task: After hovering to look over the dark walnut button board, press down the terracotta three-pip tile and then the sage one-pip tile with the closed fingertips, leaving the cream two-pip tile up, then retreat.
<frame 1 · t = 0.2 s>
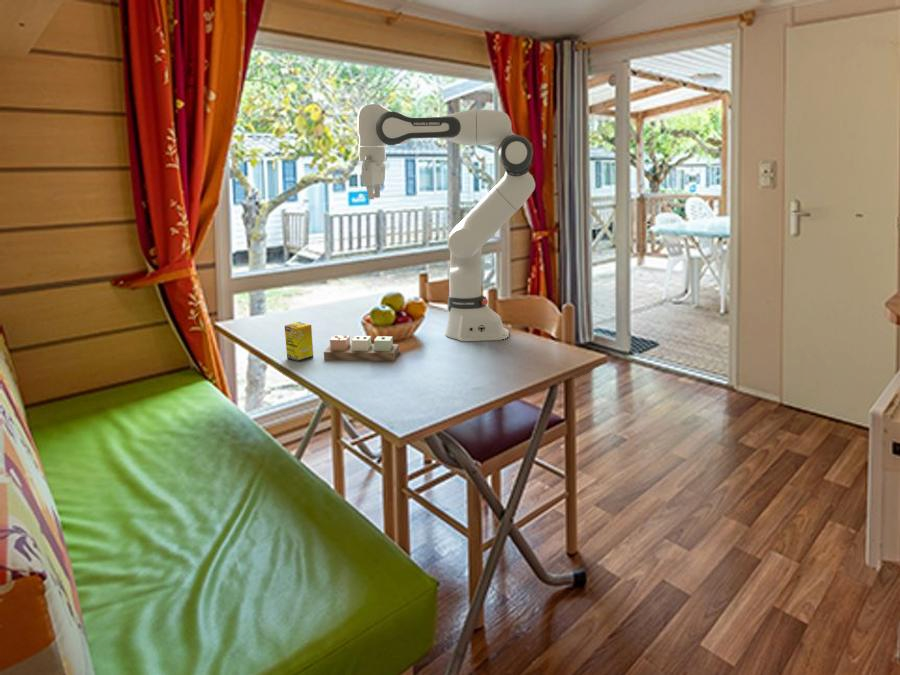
hand: (374, 198, 212), 48 cm above the table, fingers open, 8 cm apart
button board: (362, 355, 200), on the table
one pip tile: (383, 344, 198), point 4 cm above the table, slide at 0.0 cm
two pip tile: (361, 343, 199), point 4 cm above the table, slide at 0.0 cm
supplement box: (300, 359, 198), on the table
three pip tile: (340, 343, 199), point 4 cm above the table, slide at 0.0 cm
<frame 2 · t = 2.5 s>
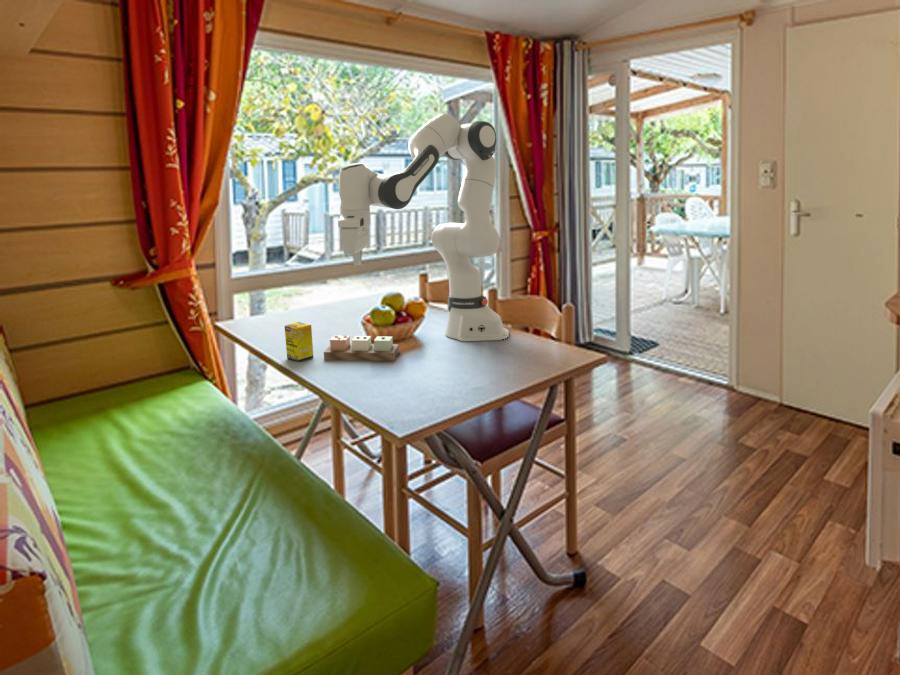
hand: (357, 264, 192), 29 cm above the table, fingers closed
nothing on the table moved.
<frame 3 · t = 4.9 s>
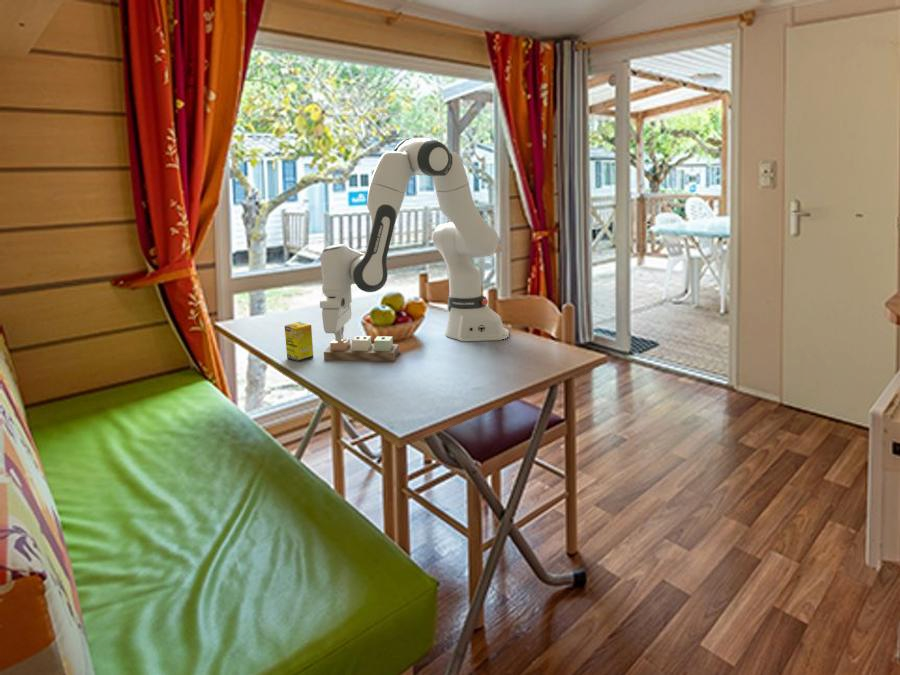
hand: (339, 339, 199), 5 cm above the table, fingers closed, pressing on three pip tile
three pip tile: (340, 346, 199), point 3 cm above the table, slide at -1.0 cm, touching gripper
everything else where it was.
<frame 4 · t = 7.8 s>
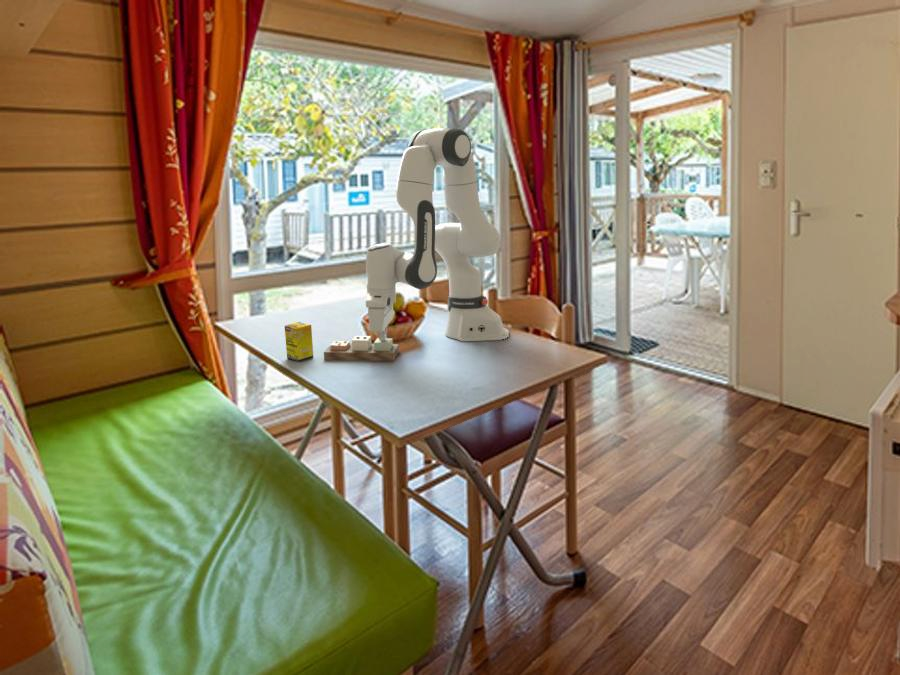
hand: (382, 339, 197), 5 cm above the table, fingers closed, pressing on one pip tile
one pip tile: (383, 346, 198), point 3 cm above the table, slide at -0.7 cm, touching gripper
three pip tile: (340, 348, 200), point 2 cm above the table, slide at -1.8 cm
everything else where it was.
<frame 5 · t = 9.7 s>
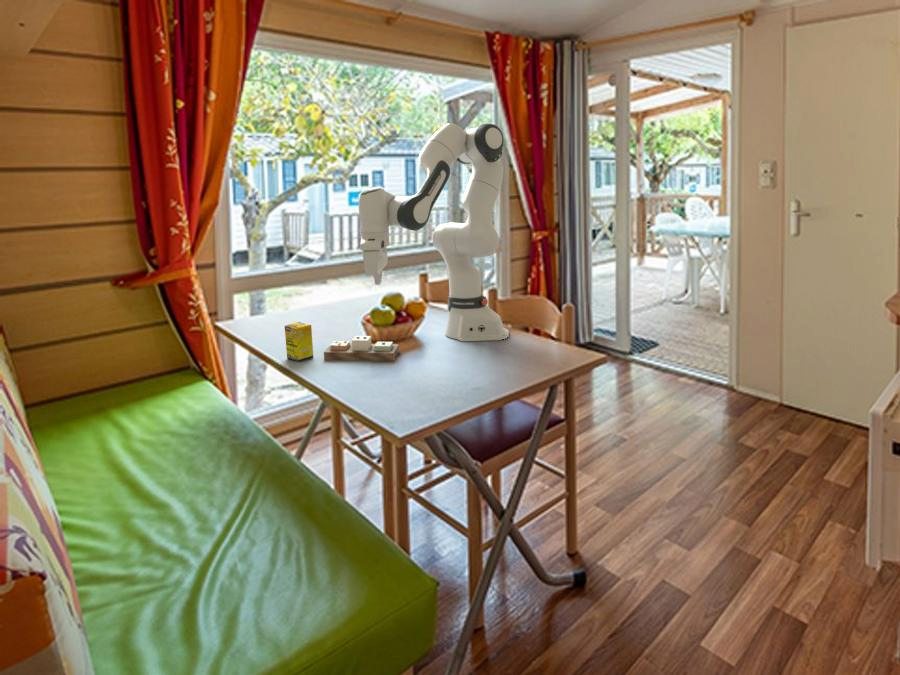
hand: (378, 283, 200), 22 cm above the table, fingers closed
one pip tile: (383, 349, 198), point 2 cm above the table, slide at -1.8 cm
everything else where it was.
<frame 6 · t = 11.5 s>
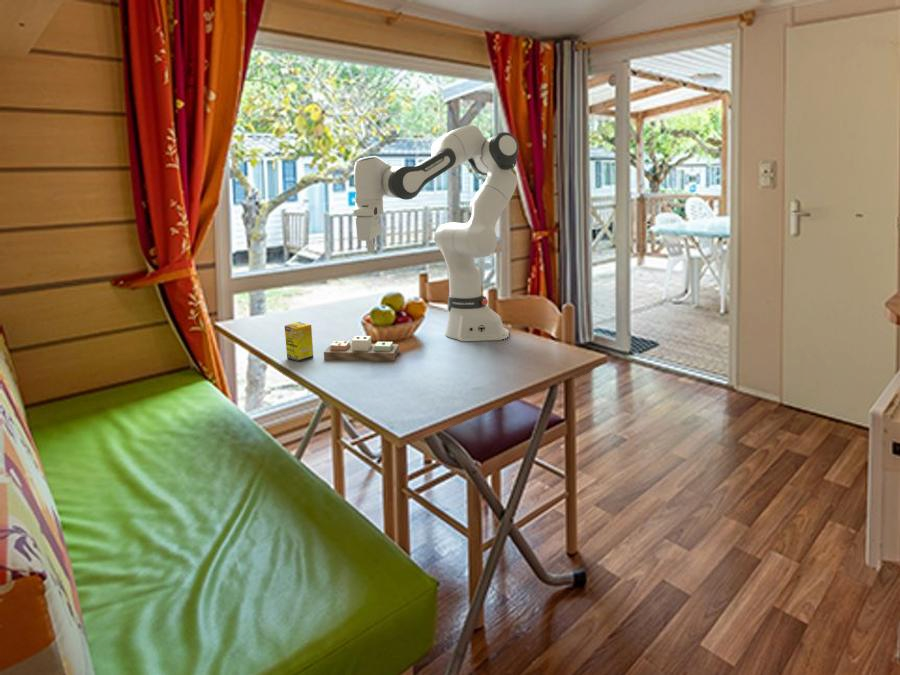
hand: (371, 251, 205), 31 cm above the table, fingers closed
nothing on the table moved.
at the end: three pip tile slide at -1.8 cm; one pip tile slide at -1.8 cm; two pip tile slide at 0.0 cm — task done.
